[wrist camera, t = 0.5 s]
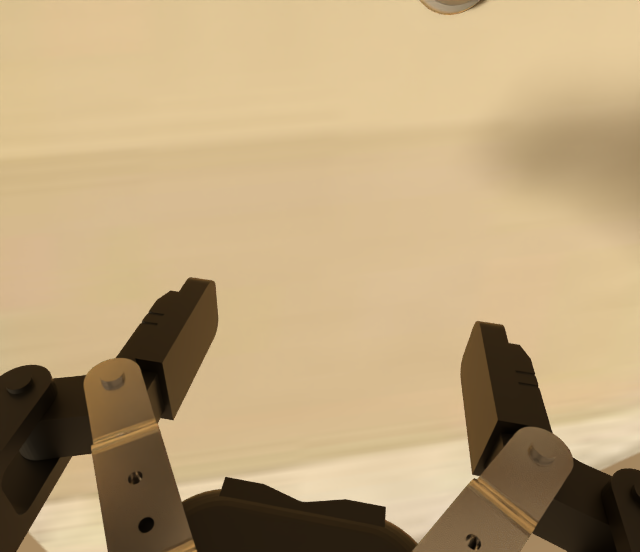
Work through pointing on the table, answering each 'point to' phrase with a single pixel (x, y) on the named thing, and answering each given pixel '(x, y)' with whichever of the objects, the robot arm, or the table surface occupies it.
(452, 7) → the grey flanged cylinder
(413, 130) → the table surface
